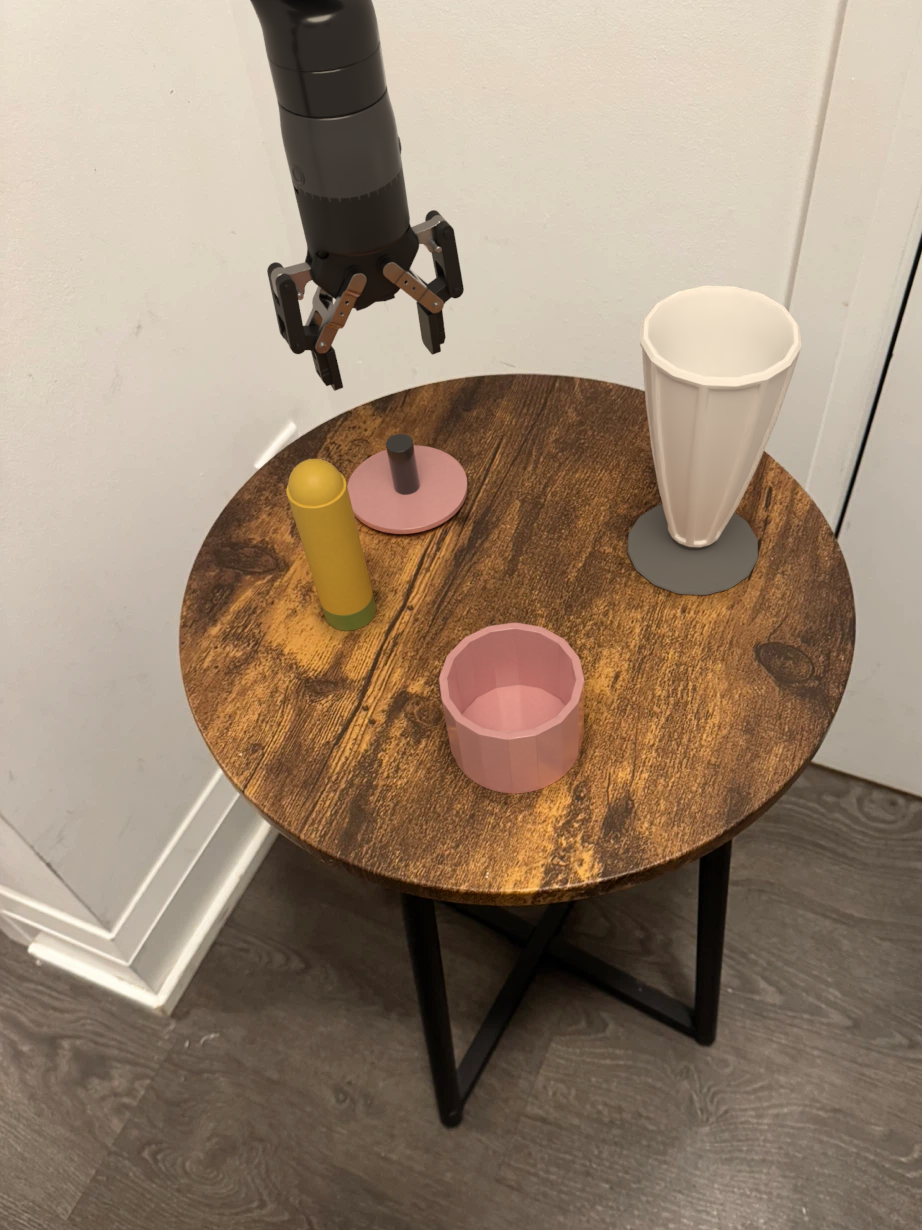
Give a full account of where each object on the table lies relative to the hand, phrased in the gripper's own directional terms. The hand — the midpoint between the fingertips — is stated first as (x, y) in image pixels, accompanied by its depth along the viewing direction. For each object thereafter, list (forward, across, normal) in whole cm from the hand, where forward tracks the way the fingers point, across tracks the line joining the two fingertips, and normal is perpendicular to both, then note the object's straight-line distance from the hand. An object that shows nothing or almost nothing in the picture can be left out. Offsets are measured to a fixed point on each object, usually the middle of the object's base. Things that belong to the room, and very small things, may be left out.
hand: (383, 366), depth 83 cm
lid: (+14, 0, 0) cm, 14 cm away
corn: (+14, +10, +10) cm, 20 cm away
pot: (+14, +4, +28) cm, 32 cm away
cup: (+15, -19, +18) cm, 30 cm away
